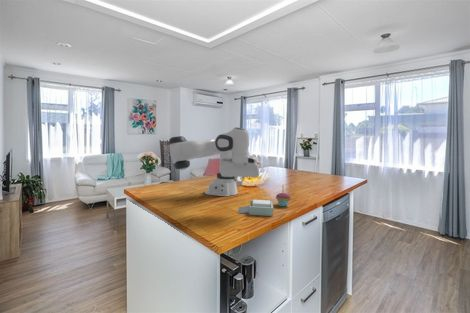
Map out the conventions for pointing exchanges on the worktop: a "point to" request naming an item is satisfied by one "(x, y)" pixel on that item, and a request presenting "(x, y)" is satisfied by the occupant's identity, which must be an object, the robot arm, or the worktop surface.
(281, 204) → the cupcake
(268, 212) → the dock
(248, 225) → the worktop surface
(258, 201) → the white rectangular block
